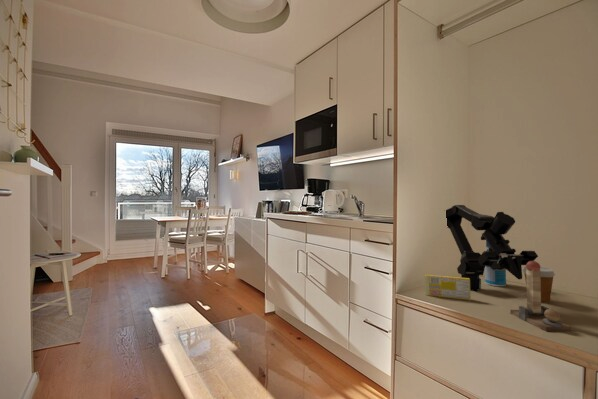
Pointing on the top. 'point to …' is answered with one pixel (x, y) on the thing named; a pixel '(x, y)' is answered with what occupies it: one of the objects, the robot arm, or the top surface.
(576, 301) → the top surface
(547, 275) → the disposable coffee cup
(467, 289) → the candy box
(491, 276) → the beverage bottle
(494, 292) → the top surface
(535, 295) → the lever
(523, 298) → the top surface
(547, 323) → the base
